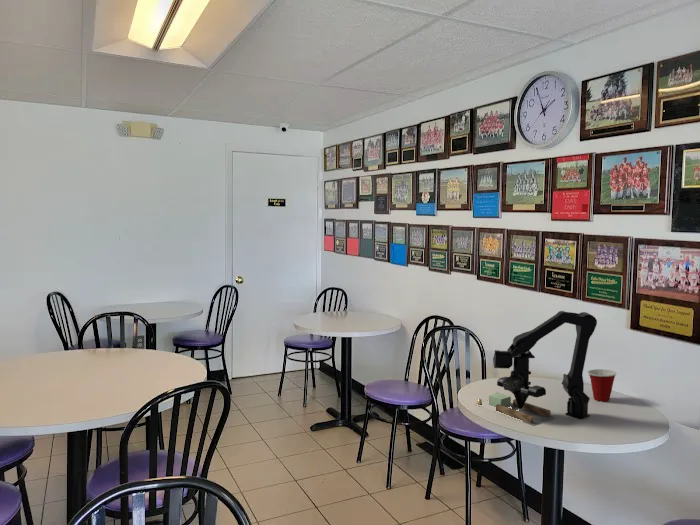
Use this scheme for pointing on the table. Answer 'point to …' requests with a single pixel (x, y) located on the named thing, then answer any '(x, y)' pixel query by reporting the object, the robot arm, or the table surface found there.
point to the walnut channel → (522, 415)
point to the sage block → (499, 400)
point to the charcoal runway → (534, 416)
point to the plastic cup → (601, 383)
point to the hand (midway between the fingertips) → (520, 408)
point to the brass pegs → (479, 401)
